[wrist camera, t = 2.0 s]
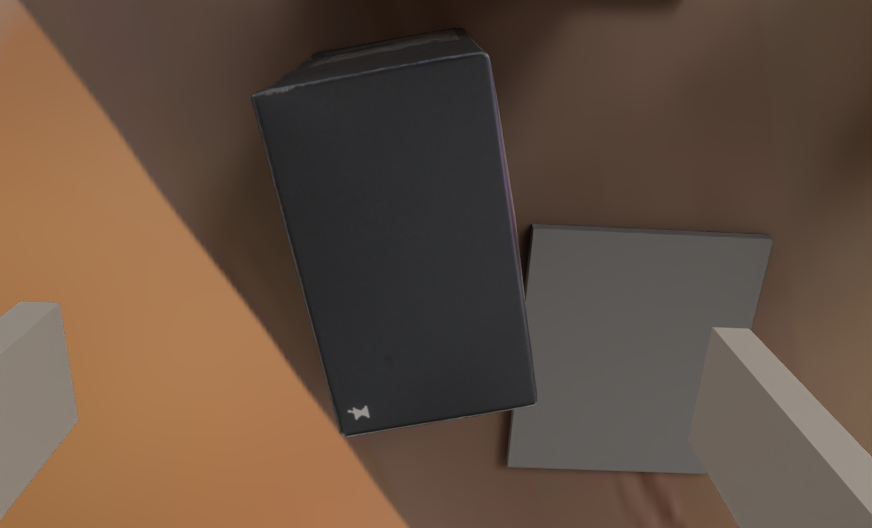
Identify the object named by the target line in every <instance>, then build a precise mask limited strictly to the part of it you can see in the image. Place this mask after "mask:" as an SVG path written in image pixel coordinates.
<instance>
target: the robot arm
mask: <svg viewBox="0 0 872 528" xmlns="http://www.w3.org/2000/svg"><path fill="white" fill-rule="evenodd" d="M77 422H78V415H77V408H76V403H75V396H74V390H73V383H72V377H71V371H70V365H69V358H68V352H67V346H66V339H65V333H64V328H63V321H62V315H61V309H60V303H54V302H25V301H20V302H19V303H17V304H16V305H15V306H13V307H12V308H11V309H10V310H8V311H7V312H6V313H5V314H4V315H2V316H1V317H0V520H1V519H2V518H3V516H4V515H5V514H6V512H7V511H8V510H9V509H10V507H11V506H12V505H13V504H14V502H15V501H16V500H17V498H18V497H19V496H20V495H21V493H22V492H23V491H24V489H25V488H26V487H27V486H28V484H29V483H30V482H31V481H32V479H33V478H34V477H35V476H36V474H37V473H38V472H39V470H40V469H41V468H42V467H43V465H44V464H45V463H46V462H47V460H48V459H49V457H50V456H51V455H52V454H53V453H54V451H55V450H56V449H57V447H58V446H59V445H60V444H61V442H62V441H63V440H64V439H65V437H66V436H67V435H68V433H69V432H70V431H71V430H72V428H73V427H74V426H75V425H76V423H77ZM688 441H689V443H690V444H691V446H692V448H693V450H694V451H695V453H696V455H697V456H698V458H699V460H700V461H701V463H702V465H703V467H704V468H705V470H706V472H707V473H708V475H709V477H710V479H711V480H712V482H713V484H714V485H715V487H716V489H717V490H718V492H719V494H720V496H721V497H722V499H723V501H724V502H725V504H726V506H727V508H728V509H729V511H730V513H731V514H732V516H733V518H734V519H735V521H736V523H737V525H738V526H739V528H872V457H871V456H870V455H869V454H868V453H867V452H866V450H865V449H864V448H863V447H862V446H861V445H860V444H859V443H858V442H857V441H856V440H855V439H854V438H853V437H852V436H851V435H850V434H849V433H848V432H847V431H846V430H845V428H844V427H843V426H842V425H841V424H840V423H839V422H838V421H837V420H836V419H835V418H834V417H833V416H832V415H831V414H830V413H829V412H828V411H827V410H826V409H825V408H824V406H823V405H822V404H821V403H820V402H819V401H818V400H817V399H816V398H815V397H814V396H813V395H812V394H811V393H810V392H809V391H808V390H807V389H806V388H805V387H804V386H803V384H802V383H801V382H800V381H799V380H798V379H797V378H796V377H795V376H794V375H793V374H792V373H791V372H790V371H789V370H788V369H787V368H786V367H785V366H784V365H783V364H782V362H781V361H780V360H779V359H778V358H777V357H776V356H775V355H774V354H773V353H772V352H771V351H770V350H769V349H768V348H767V347H766V346H765V345H764V344H763V343H762V342H761V341H760V339H759V338H758V337H757V336H756V335H755V334H754V333H753V332H752V331H751V330H750V329H747V328H721V327H712V331H711V336H710V340H709V345H708V350H707V354H706V359H705V363H704V368H703V373H702V377H701V382H700V386H699V391H698V395H697V400H696V405H695V409H694V414H693V418H692V423H691V428H690V432H689V437H688Z"/></svg>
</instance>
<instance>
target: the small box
mask: <svg viewBox="0 0 872 528" xmlns="http://www.w3.org/2000/svg"><path fill="white" fill-rule="evenodd" d="M252 104H253V107H254V111H255V115H256V119H257V123H258V127H259V130H260V134H261V138H262V141H263V145H264V149H265V153H266V157H267V161H268V164H269V168H270V172H271V176H272V180H273V184H274V187H275V191H276V194H277V198H278V201H279V206H280V210H281V214H282V218H283V221H284V225H285V229H286V233H287V236H288V240H289V244H290V248H291V252H292V256H293V260H294V264H295V268H296V271H297V275H298V278H299V282H300V286H301V290H302V294H303V297H304V300H305V305H306V309H307V312H308V315H309V318H310V322H311V326H312V330H313V335H314V339H315V342H316V346H317V349H318V353H319V357H320V361H321V365H322V369H323V373H324V376H325V380H326V383H327V387H328V391H329V395H330V399H331V401H332V406H333V409H334V413H335V417H336V421H337V425H338V428H339V432H340V434H341V435H343V436H345V437H353V436H359V435H364V434H369V433H375V432H380V431H387V430H393V429H398V428H407V427H413V426H417V425H424V424H430V423H436V422H441V421H449V420H455V419H459V418H466V417H475V416H479V415H486V414H491V413H498V412H504V411H508V410H515V409H520V408H526V407H533V406H534V405H536V404H537V389H536V382H535V374H534V364H533V355H532V348H531V340H530V332H529V325H528V317H527V309H526V301H525V293H524V285H523V276H522V268H521V260H520V252H519V244H518V235H517V227H516V218H515V211H514V205H513V198H512V192H511V186H510V179H509V172H508V166H507V159H506V153H505V146H504V139H503V133H502V126H501V120H500V113H499V106H498V100H497V94H496V88H495V83H494V77H493V73H492V67H491V62H490V57H489V55H488V54H487V53H486V52H485V51H483V49H482V48H480V47H479V46H478V45H477V43H476V42H475V41H474V40H473V39H472V38H471V37H470V35H469V34H468V33H467V32H466V31H465V30H464V29H463V28H454V29H449V30H442V31H436V32H431V33H423V34H418V35H413V36H407V37H401V38H396V39H391V40H385V41H379V42H374V43H368V44H363V45H357V46H351V47H345V48H340V49H335V50H329V51H323V52H317V53H314V54H313V55H312V56H311V57H310V58H309V59H308V61H306V62H305V63H303V64H301V65H300V66H299V67H298V68H296V69H295V70H293V71H292V72H290V73H289V74H287V75H286V76H284V77H283V78H282V79H280V81H278V82H276V83H275V84H274V85H272V86H271V87H268V88H266V89H264V90H261V91H258V92H256V93H255V94H254V95H253V96H252Z"/></svg>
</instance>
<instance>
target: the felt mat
mask: <svg viewBox="0 0 872 528" xmlns="http://www.w3.org/2000/svg"><path fill="white" fill-rule="evenodd" d="M772 243H773V239H772V238H771V237H770V236H768V235H767V234H746V233H724V232H702V231H680V230H658V229H636V228H614V227H592V226H570V225H548V224H532V227H531V236H530V245H529V254H528V264H527V273H526V282H525V291H524V293H525V301H526V309H527V317H528V325H529V332H530V340H531V348H532V355H533V364H534V374H535V382H536V389H537V404H536V405H534V406H533V407H526V408H520V409H515V410H512V411H511V420H510V430H509V439H508V448H507V457H506V460H507V466H508V467H522V468H550V469H578V470H606V471H634V472H663V473H691V474H708V473H707V472H706V470H705V468H704V467H703V465H702V463H701V461H700V460H699V458H698V456H697V455H696V453H695V451H694V450H693V448H692V446H691V444H690V443H689V441H688V437H689V432H690V428H691V423H692V418H693V414H694V409H695V405H696V400H697V395H698V391H699V386H700V382H701V377H702V373H703V368H704V363H705V359H706V354H707V350H708V345H709V340H710V336H711V331H712V327H721V328H747V329H750V330H751V328H752V324H753V320H754V316H755V312H756V308H757V304H758V300H759V296H760V292H761V288H762V284H763V280H764V276H765V272H766V268H767V264H768V260H769V255H770V251H771V247H772Z"/></svg>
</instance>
